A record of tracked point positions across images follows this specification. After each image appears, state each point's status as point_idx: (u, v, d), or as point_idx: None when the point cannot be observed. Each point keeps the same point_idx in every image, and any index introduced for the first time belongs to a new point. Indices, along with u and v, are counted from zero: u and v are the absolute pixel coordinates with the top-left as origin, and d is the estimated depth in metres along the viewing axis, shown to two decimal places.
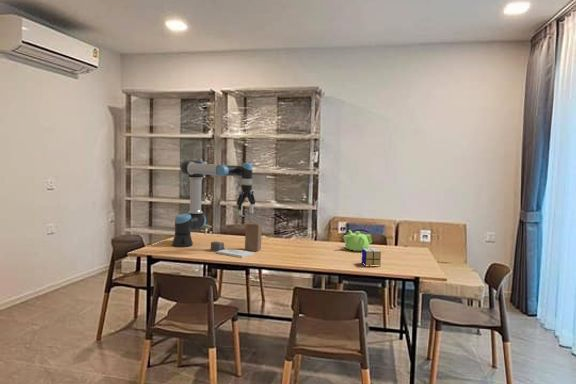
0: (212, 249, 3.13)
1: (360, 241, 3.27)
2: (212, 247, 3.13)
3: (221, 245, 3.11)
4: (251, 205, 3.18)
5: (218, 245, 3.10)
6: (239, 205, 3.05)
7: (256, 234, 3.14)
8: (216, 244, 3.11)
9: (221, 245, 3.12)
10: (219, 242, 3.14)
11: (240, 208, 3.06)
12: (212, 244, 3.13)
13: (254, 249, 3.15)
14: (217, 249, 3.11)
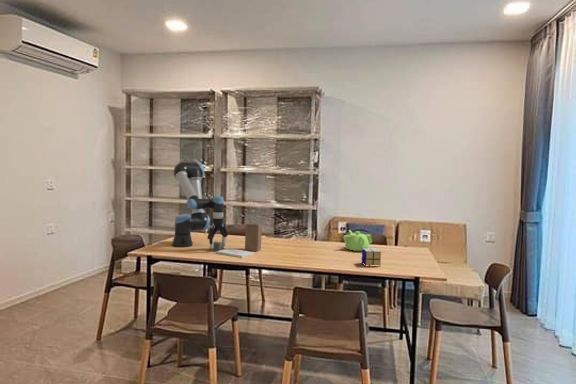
0: (212, 249, 3.13)
1: (360, 241, 3.27)
2: None
3: (221, 245, 3.11)
4: (223, 238, 3.19)
5: (218, 245, 3.10)
6: (210, 239, 3.06)
7: (256, 234, 3.14)
8: (216, 244, 3.11)
9: (221, 245, 3.12)
10: (219, 242, 3.14)
11: (211, 242, 3.06)
12: None
13: (254, 249, 3.15)
14: (217, 249, 3.11)
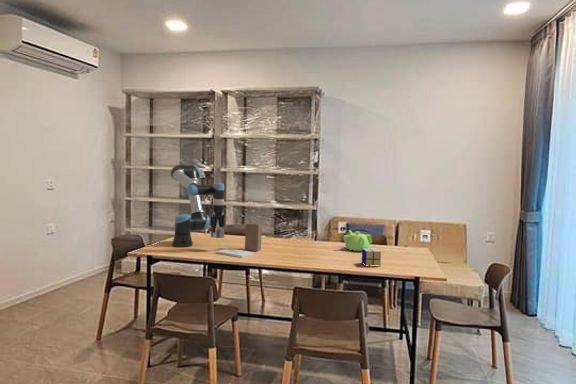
0: (212, 235, 3.12)
1: (360, 241, 3.27)
2: (212, 233, 3.12)
3: (221, 231, 3.11)
4: (220, 228, 3.15)
5: (218, 231, 3.09)
6: (213, 228, 3.09)
7: (256, 234, 3.14)
8: None
9: (221, 231, 3.11)
10: (219, 229, 3.13)
11: (214, 231, 3.10)
12: (212, 230, 3.12)
13: (254, 249, 3.15)
14: (217, 235, 3.10)
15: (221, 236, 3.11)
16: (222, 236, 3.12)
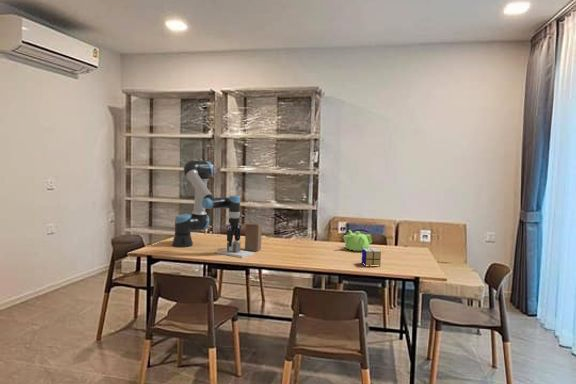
0: (228, 249, 3.04)
1: (360, 241, 3.27)
2: (228, 247, 3.04)
3: (237, 245, 3.02)
4: (236, 241, 3.07)
5: (235, 245, 3.01)
6: (229, 241, 3.01)
7: (256, 234, 3.14)
8: (233, 244, 3.02)
9: (238, 245, 3.03)
10: (235, 242, 3.05)
11: (231, 244, 3.01)
12: (228, 244, 3.04)
13: (254, 249, 3.15)
14: (234, 249, 3.02)
15: (237, 250, 3.03)
16: (238, 250, 3.04)
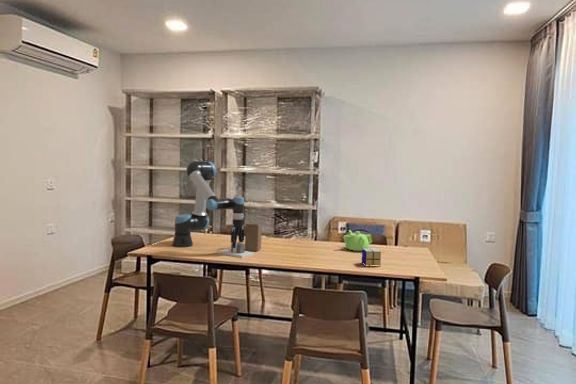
0: None
1: (360, 241, 3.27)
2: None
3: (242, 246, 3.01)
4: None
5: (239, 246, 2.99)
6: (233, 243, 2.99)
7: (256, 234, 3.14)
8: (237, 245, 3.00)
9: (242, 246, 3.01)
10: (240, 243, 3.04)
11: (234, 246, 3.00)
12: (232, 245, 3.02)
13: (254, 249, 3.15)
14: (238, 250, 3.00)
15: (242, 251, 3.01)
16: (243, 251, 3.02)
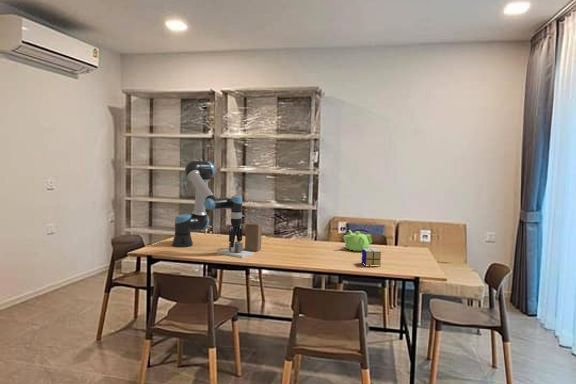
0: None
1: (360, 241, 3.27)
2: None
3: (240, 245, 3.01)
4: None
5: (237, 245, 3.00)
6: (231, 242, 3.00)
7: (256, 234, 3.14)
8: (235, 244, 3.01)
9: (240, 245, 3.02)
10: (238, 242, 3.04)
11: (233, 245, 3.00)
12: None
13: (254, 249, 3.15)
14: (236, 250, 3.01)
15: (240, 250, 3.02)
16: (241, 250, 3.03)
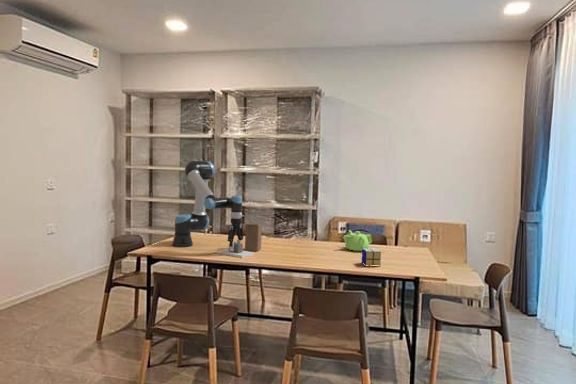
0: None
1: (360, 241, 3.27)
2: None
3: (240, 246, 3.02)
4: (239, 241, 3.07)
5: (237, 246, 3.00)
6: (230, 241, 2.99)
7: (256, 234, 3.14)
8: (235, 245, 3.01)
9: (240, 246, 3.02)
10: (238, 243, 3.04)
11: (231, 244, 2.99)
12: None
13: (254, 249, 3.15)
14: (236, 250, 3.01)
15: (240, 251, 3.02)
16: (241, 251, 3.03)
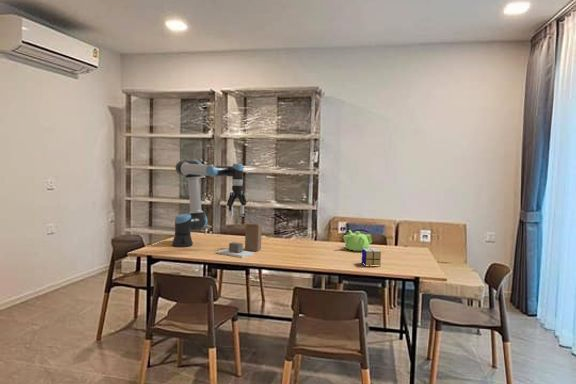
0: (230, 250, 3.03)
1: (360, 241, 3.27)
2: (230, 248, 3.03)
3: (240, 246, 3.02)
4: (242, 206, 3.16)
5: (237, 246, 3.00)
6: (229, 206, 3.03)
7: (256, 234, 3.14)
8: (235, 245, 3.01)
9: (240, 246, 3.02)
10: (238, 243, 3.04)
11: (230, 209, 3.04)
12: (230, 245, 3.03)
13: (254, 249, 3.15)
14: (236, 250, 3.01)
15: (240, 251, 3.02)
16: (241, 251, 3.03)
